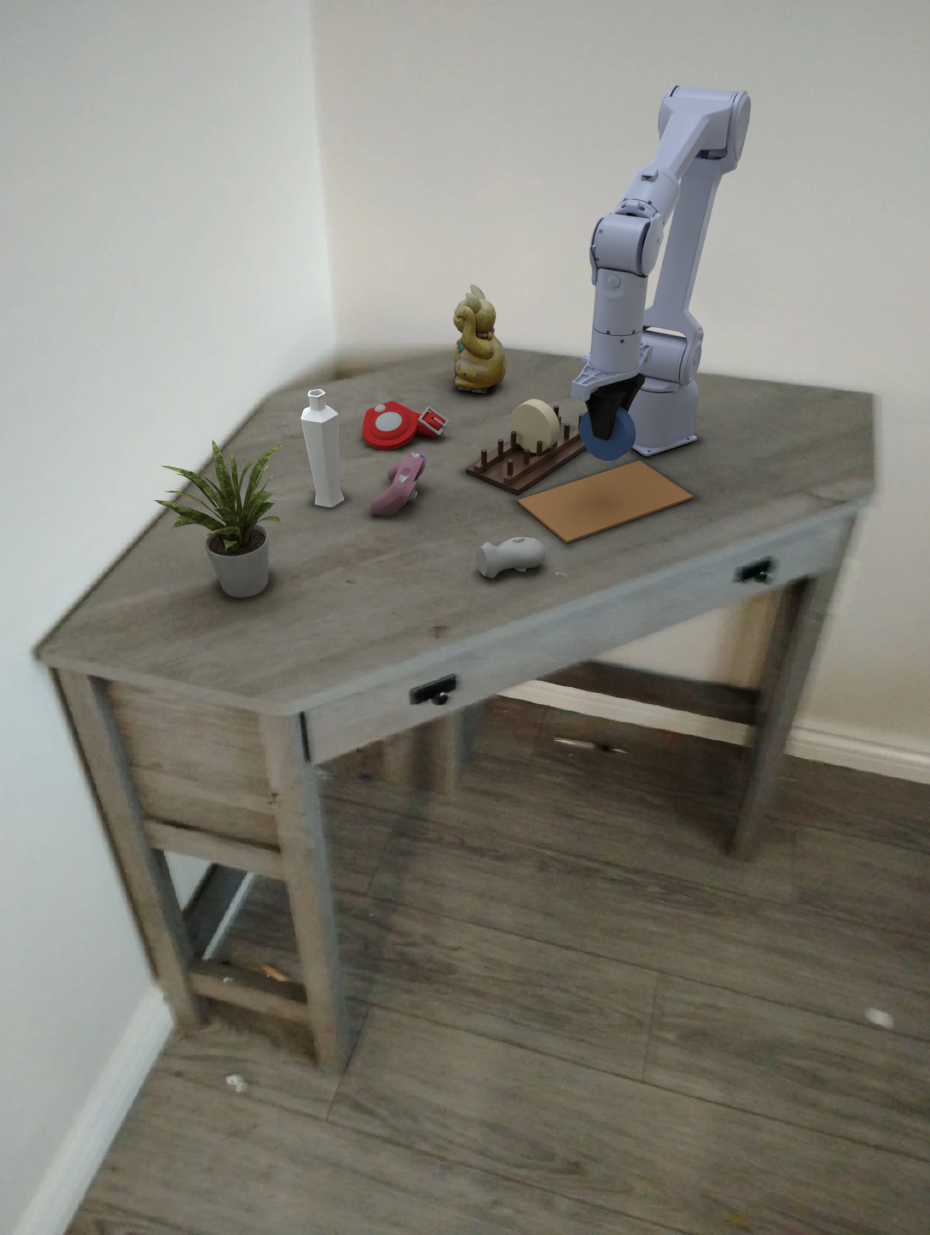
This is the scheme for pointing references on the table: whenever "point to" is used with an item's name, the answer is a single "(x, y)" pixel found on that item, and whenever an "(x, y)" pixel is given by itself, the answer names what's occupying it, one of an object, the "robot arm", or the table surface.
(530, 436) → the cream disc
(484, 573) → the smooth white sculpture
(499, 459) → the rack
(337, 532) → the table surface
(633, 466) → the mat
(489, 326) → the decorative figurine
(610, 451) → the blue disc
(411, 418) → the tracker holder
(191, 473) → the house plant
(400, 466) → the video game controller
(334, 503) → the white faceted vase
